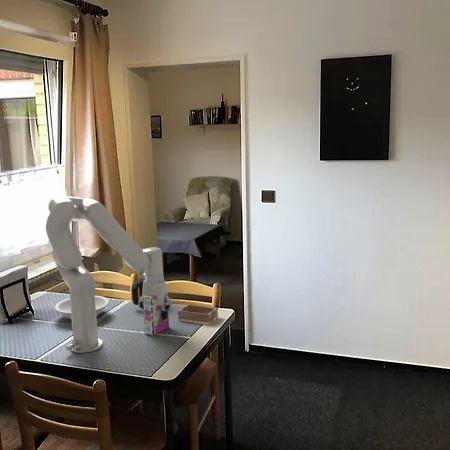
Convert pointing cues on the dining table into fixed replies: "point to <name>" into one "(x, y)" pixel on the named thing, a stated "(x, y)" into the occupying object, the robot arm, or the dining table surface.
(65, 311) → the soup bowl
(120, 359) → the dining table surface
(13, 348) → the dining table surface
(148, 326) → the candy bar box
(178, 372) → the dining table surface
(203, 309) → the open wooden box
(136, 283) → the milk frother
